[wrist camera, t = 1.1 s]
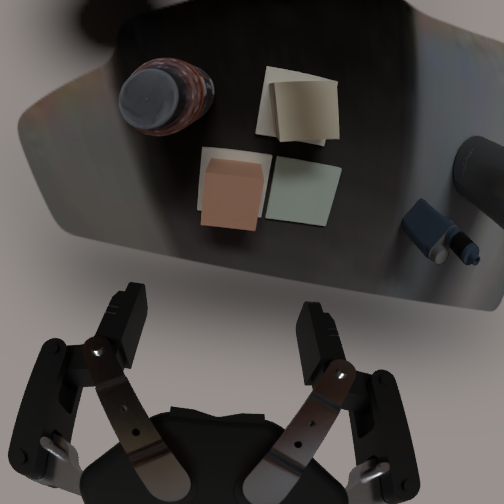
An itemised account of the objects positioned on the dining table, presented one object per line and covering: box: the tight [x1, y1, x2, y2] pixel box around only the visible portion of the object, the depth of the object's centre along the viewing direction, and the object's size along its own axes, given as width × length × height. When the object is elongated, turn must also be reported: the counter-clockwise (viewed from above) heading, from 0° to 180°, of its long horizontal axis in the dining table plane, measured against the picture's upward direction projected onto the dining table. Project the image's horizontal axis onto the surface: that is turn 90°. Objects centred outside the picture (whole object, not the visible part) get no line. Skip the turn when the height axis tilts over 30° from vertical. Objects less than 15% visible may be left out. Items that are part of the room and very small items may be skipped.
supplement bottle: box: [119, 58, 215, 136], centre depth 19 cm, size 6×6×11 cm
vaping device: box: [402, 199, 480, 266], centre depth 26 cm, size 3×5×12 cm, turn 146°
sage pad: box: [265, 156, 342, 226], centre depth 29 cm, size 7×7×1 cm
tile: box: [255, 66, 338, 146], centre depth 24 cm, size 7×7×1 cm
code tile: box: [197, 147, 272, 217], centre depth 29 cm, size 7×7×1 cm
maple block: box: [269, 81, 339, 142], centre depth 22 cm, size 5×5×5 cm
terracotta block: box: [201, 158, 264, 231], centre depth 26 cm, size 5×5×5 cm
